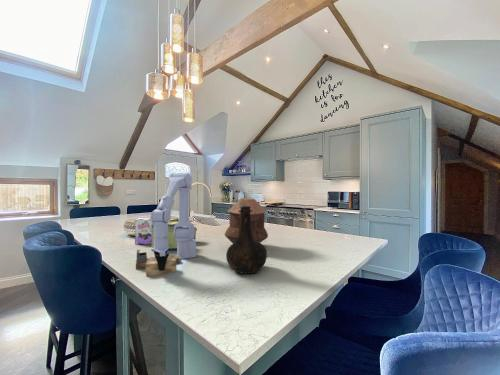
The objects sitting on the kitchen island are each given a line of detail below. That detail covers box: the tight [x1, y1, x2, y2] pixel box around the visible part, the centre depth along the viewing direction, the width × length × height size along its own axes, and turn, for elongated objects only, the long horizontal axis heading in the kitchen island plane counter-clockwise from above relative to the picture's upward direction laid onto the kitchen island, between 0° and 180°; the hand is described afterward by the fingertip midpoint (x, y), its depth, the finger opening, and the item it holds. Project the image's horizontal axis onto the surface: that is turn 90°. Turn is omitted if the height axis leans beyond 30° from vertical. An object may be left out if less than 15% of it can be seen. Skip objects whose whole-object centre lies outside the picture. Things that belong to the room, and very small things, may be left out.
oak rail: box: [145, 258, 177, 277], centre depth 101 cm, size 12×4×5 cm, turn 115°
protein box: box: [151, 221, 179, 252], centre depth 141 cm, size 10×16×16 cm
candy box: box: [134, 217, 152, 246], centre depth 154 cm, size 14×6×16 cm, turn 80°
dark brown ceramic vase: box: [225, 206, 268, 274], centre depth 103 cm, size 18×18×28 cm
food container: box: [193, 225, 198, 240], centre depth 155 cm, size 12×6×10 cm, turn 168°
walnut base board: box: [135, 253, 180, 270], centre depth 112 cm, size 19×7×2 cm, turn 115°
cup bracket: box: [136, 249, 148, 263], centre depth 109 cm, size 4×6×4 cm
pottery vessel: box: [224, 197, 269, 244], centre depth 139 cm, size 26×26×30 cm
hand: (161, 268), depth 101 cm, fingers open, 4 cm apart
